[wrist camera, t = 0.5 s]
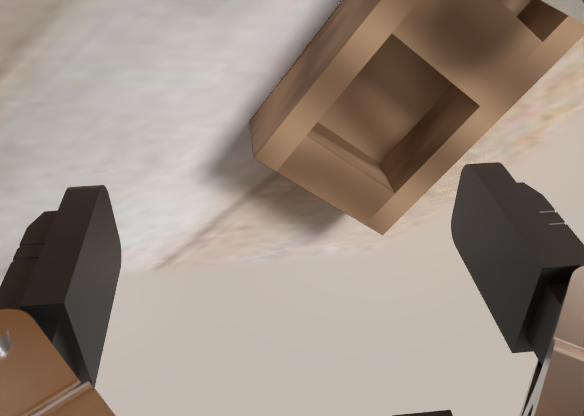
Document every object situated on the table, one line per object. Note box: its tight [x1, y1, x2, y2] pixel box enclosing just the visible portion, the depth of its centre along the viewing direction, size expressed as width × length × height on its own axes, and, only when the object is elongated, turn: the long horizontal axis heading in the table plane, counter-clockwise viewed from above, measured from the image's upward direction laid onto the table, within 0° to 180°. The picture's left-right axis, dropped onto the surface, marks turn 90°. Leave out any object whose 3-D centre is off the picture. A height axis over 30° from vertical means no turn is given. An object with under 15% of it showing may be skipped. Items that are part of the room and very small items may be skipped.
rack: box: [249, 0, 584, 235], centre depth 33 cm, size 26×11×5 cm, turn 142°
